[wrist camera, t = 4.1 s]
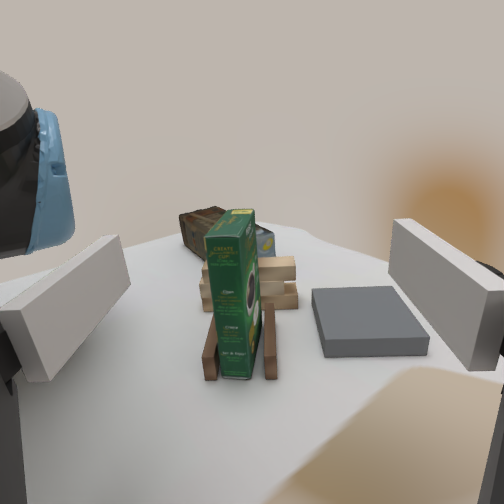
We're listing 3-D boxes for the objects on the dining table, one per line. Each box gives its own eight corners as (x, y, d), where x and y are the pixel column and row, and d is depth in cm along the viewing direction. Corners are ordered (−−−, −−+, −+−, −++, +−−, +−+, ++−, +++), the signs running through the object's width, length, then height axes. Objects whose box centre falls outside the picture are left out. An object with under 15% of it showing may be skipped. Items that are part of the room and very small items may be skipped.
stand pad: (324, 357, 28) (325, 339, 28) (311, 303, 37) (311, 288, 36) (426, 355, 28) (430, 337, 27) (390, 301, 36) (391, 285, 35)
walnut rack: (205, 380, 27) (201, 357, 26) (218, 324, 34) (215, 304, 33) (277, 379, 26) (276, 355, 25) (275, 322, 34) (274, 302, 33)
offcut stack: (202, 311, 37) (196, 270, 35) (207, 298, 39) (201, 259, 37) (297, 308, 36) (297, 266, 34) (295, 295, 39) (295, 255, 37)
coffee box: (237, 322, 34) (226, 206, 29) (263, 323, 34) (256, 205, 29) (219, 378, 27) (199, 236, 22) (252, 381, 26) (239, 236, 21)
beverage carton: (230, 286, 42) (226, 240, 40) (181, 246, 58) (175, 211, 55) (278, 269, 46) (276, 226, 44) (220, 236, 61) (216, 203, 59)
